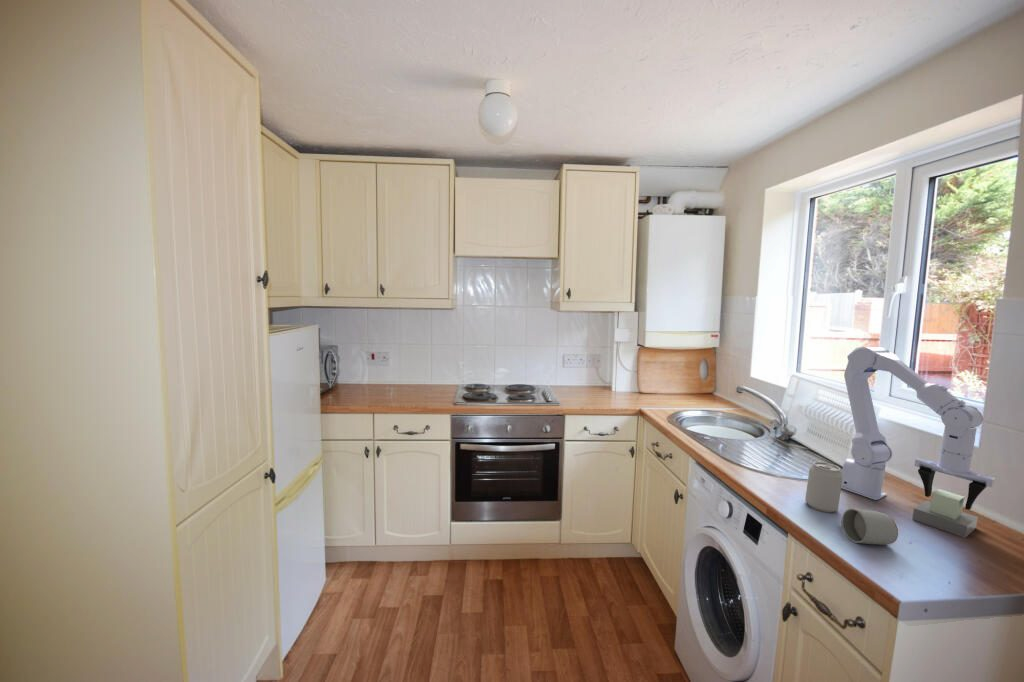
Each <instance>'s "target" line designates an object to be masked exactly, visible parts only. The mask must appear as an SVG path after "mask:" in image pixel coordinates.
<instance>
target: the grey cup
mask: <svg viewBox="0 0 1024 682" xmlns="http://www.w3.org/2000/svg"><path fill="white" fill-rule="evenodd" d="M840 525H841V527H842V529H843V532H844V534H845V535H846V536H847V538H848V539H849V540H850V541H852V542H853V543H856V544H864V545H865V544H869V545H879V546H880V545H883V546H884V545H885V546H887V545H891V544H894V543H895V542H896V541H897V539H898V537H899V529H898V526H897V524H896V522H895V520H894V519H893V518H892V517H891V516H890V515H888V514H886V513H884V512H881V511H875V510H867V509H860V508H855V507H853V508H852V507H851V508H848V509H846V510H845V511H844V512H843V514H842V517H841V521H840Z"/></svg>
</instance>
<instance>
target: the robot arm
mask: <svg viewBox="0 0 1024 682" xmlns="http://www.w3.org/2000/svg"><path fill="white" fill-rule="evenodd" d="M877 371H882V372H889V373H890V374H892V375H893V376H894V377H896V378H897V379H899V380H900V381H902V382H903V383H904V384H906V385H907V386H909V387H910V388H911V389H912V390H914V391H916V397H917V399H918V400H919V401H920V402H922V403H923V404H924V405H925V406H926V407H928V408H929V409H930V410H932V411H933V412H935V413H936V414H937V415H938V416H939V417H940V419H941V422H942V423H943V424H944V425H943V426H944V430H943V434H942V439H941V446H940V452H939V457H938V461H937V462H936V461H933V460H928V459H922V458H918V457H917V458H915V459H914V466H915V467H917V468H919V469H917V473H918V474H919V477H920V479H921V481H922V484H923V489H924V497H927V498H929V497H932V492H933V491H932V490H933V482H934V478H935V474H936V472H938V473H940V474H943V475H949V476H953V477H955V478H959V479H963V480H967V481H969V482H970V483H968V490H967V491H968V494H967V499H966V503H965V506H964V509H965V510H966V511H967V510H968V511H970V510H971V509H972V508H973V504H974V503H975V501H976V499H977V498H978V496H979V495H980V494H981V493H982V492H983V491H984V490H986V488H987V487H989V488H993V487H994V486H995V481H996V478H994V477H991V476H988V475H985V474H981V473H978V472H974V471H972V470H970V469H971V464H972V459H973V452H974V447H975V442H976V435H977V427H980V425H981V424H982V423H983V422H984V417H983V414H982V412H981V411H980V410H979V409H978V408H977V407H975V406H974V405H967V404H966V403H967V402H966V401H964V400H962V399H960V400H959V399H958V398H957V397H956V396H954V395H953V394H952V393H950V392H949V391H948V389H949V388H948V387H947V386H945V385H940V384H938V383H929V382H927V380H925V379H924V378H923V377H921V375H919V374H918V373H917V372H915V371H914V370H913V369H912V368H910V366H909V365H907V364H906V363H904V361H902V360H901V359H900V358H899V357H898V355H896V354H895V353H894V352H890V351H889V349H887V348H885V347H883V346H875V347H871V346H870V347H866V346H859V347H856V348H855V349H853V350H852V351H851V352H850V353H849V354H848V355H847V364H846V368H845V371H844V381H845V386H846V391H847V395H848V399H849V405H850V410H851V414H852V419H853V424H854V429H855V434H854V435H853V436H852V438H851V443H852V446H851V449H850V455H851V457H852V458H848V457H847V458H846V459H845V461H844V463H843V465H842V469H841V473H842V474H843V479H842V486H841V490H842V489H843V490H844V491H848V492H852V493H854V494H857V495H860V496H863V497H866V498H868V499H871V500H873V501H878V500H880V499H882V498H884V497H886V496H887V492H884V491H882V490H883V486H884V479H885V472H886V463H887V462H889V461H890V460H892V457H893V451H892V448H891V447H890V446H889V444H888V442H887V439H886V437H885V436H884V435H883V434H882V433H881V432H880V430H879V426H878V421H877V417H876V412H875V407H874V404H873V403H874V402H873V399H872V398H873V397H872V394H871V388H870V385H869V382H868V380H869V378H871V376H872V375H874V374H875V373H876V372H877Z"/></svg>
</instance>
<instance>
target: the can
mask: <svg viewBox="0 0 1024 682" xmlns="http://www.w3.org/2000/svg"><path fill="white" fill-rule="evenodd" d="M842 479H843V474H842V469H841V468H840V466H838V465H835V464H832V463H829V462H824V461H814V462H813V463H812V465H811V466H810V467H809V472H808V477H807V483H806V491H805V502H806V503H807V504H808V506H810V507H811V508H812V507H813V509H814V510H817V511H819V510H820V512H824V513H833V512H836V511H838V510H839V505H840V498H841V491H842V488H841V486H842Z"/></svg>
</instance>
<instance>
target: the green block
mask: <svg viewBox="0 0 1024 682" xmlns="http://www.w3.org/2000/svg"><path fill="white" fill-rule="evenodd" d="M930 502H931V503H930V509H929V511H932V512H935V513H938V514H941V515H944V516H947V517H950V518H953V519H957V518H958V517H959V516H961V514H962V512H963V508H964V502H965V496H963V495H959V494H956V493H954V492H950V491H948V490H943V489H940V488H938V489H936V490H934V491H932V492H931V496H930Z"/></svg>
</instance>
